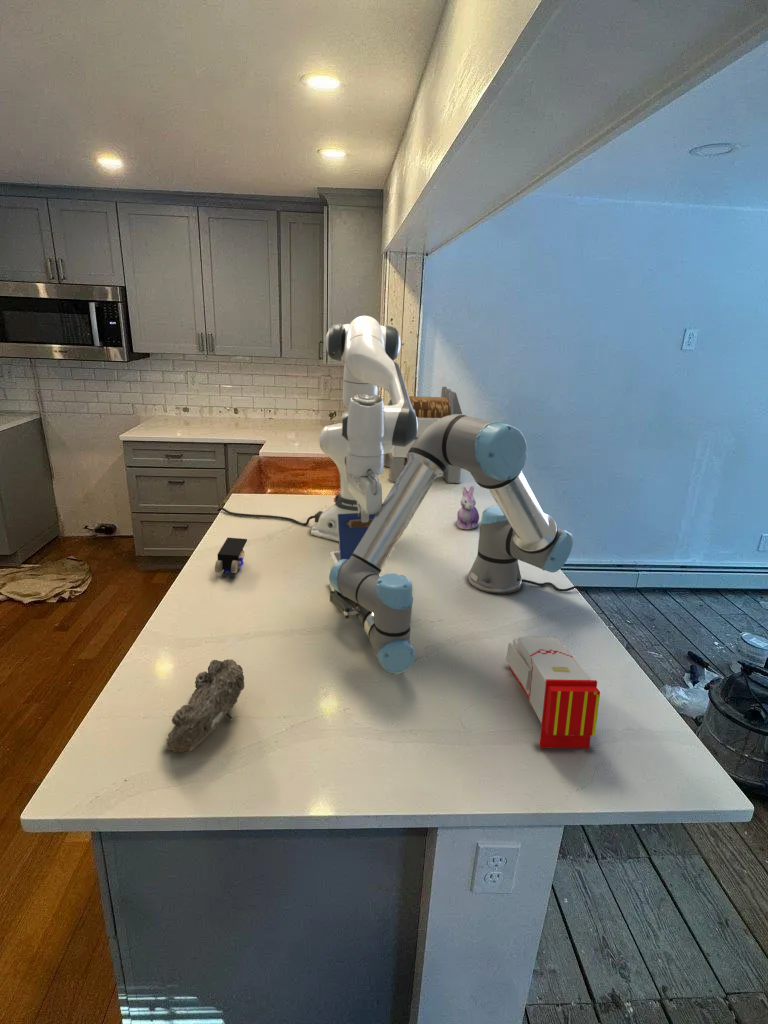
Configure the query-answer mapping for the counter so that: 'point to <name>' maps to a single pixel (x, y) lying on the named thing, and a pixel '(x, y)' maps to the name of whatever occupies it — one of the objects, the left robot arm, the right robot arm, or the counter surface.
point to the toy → (555, 691)
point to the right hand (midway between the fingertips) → (356, 579)
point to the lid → (351, 532)
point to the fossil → (206, 705)
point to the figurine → (468, 510)
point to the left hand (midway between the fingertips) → (363, 520)
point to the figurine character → (230, 556)
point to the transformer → (426, 415)
